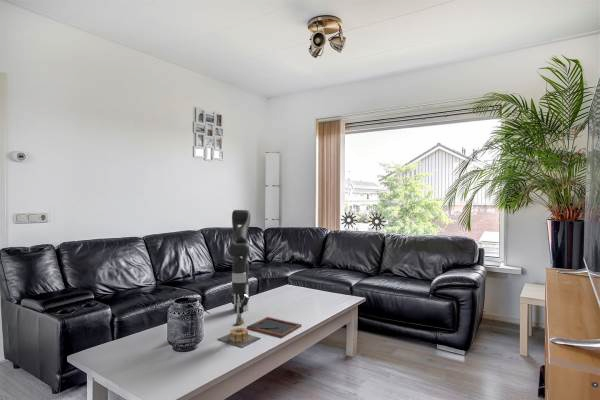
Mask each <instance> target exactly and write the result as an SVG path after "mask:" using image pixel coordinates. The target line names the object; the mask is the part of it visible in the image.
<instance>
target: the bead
mask: <svg viewBox="0 0 600 400" xmlns="http://www.w3.org/2000/svg"><path fill="white" fill-rule="evenodd" d="M244 323H245V322H244V317H241V321H240V322H237V318H236V319H235V325H236V326H242V324H243V325H244Z"/></svg>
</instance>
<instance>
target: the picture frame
mask: <svg viewBox="0 0 600 400" xmlns="http://www.w3.org/2000/svg"><path fill="white" fill-rule="evenodd" d="M301 327H302V324H301V323H296V322H293V321H288V320H284V319H279V318H274V317H269V316H266V317H264V318H262V319H260V320H258V321H256V322H254V323H252V324H250V325H247V326H246V329H248V330H250V331H254V332H257V333H261V334H266V335H269V336H274V337H278V338H281V339H283V338H285V337H287V336H288V335H290V334H291V333H293V332H294V331H296V330H298V329H300V328H301Z"/></svg>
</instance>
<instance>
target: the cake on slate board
mask: <svg viewBox="0 0 600 400" xmlns="http://www.w3.org/2000/svg"><path fill="white" fill-rule="evenodd" d="M217 340H218V341H220V342H223V343H226V344H230V345H233V346H235V347H238V348H242V349H243V348H245V347H247V346H249V345H251V344H253V343H255V342H257V341H259V340H261V337H257V336H256V335H252V334H249V329H247V328H246V327H236V328H233V329H231V330H230V332H229V333H228V334H225V335H224V336H221V337H219V338H217Z"/></svg>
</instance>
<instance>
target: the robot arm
mask: <svg viewBox="0 0 600 400" xmlns="http://www.w3.org/2000/svg"><path fill="white" fill-rule="evenodd" d="M231 224H232V241H231V244H230V246H229V248H228V252H229V255H230V256H231V257H232V273H231V274H232V275H231V290H232V292H229V293H228V295H229V299H230V302H231V304H232V305H233V310H234V313H235V314H237V299H238V302H239V314H241V315H242V314H243V313H244V312H246V311H249V299H250V295H249V271H250V263H249V261H248V260H247V259H248V255H249V253H250V247H249V245H248V239H247V237H248V235H247V234H248V231H249V226H250V224H251V212H250V211H249V210H246V209H234V210H233V211H232V214H231Z"/></svg>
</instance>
